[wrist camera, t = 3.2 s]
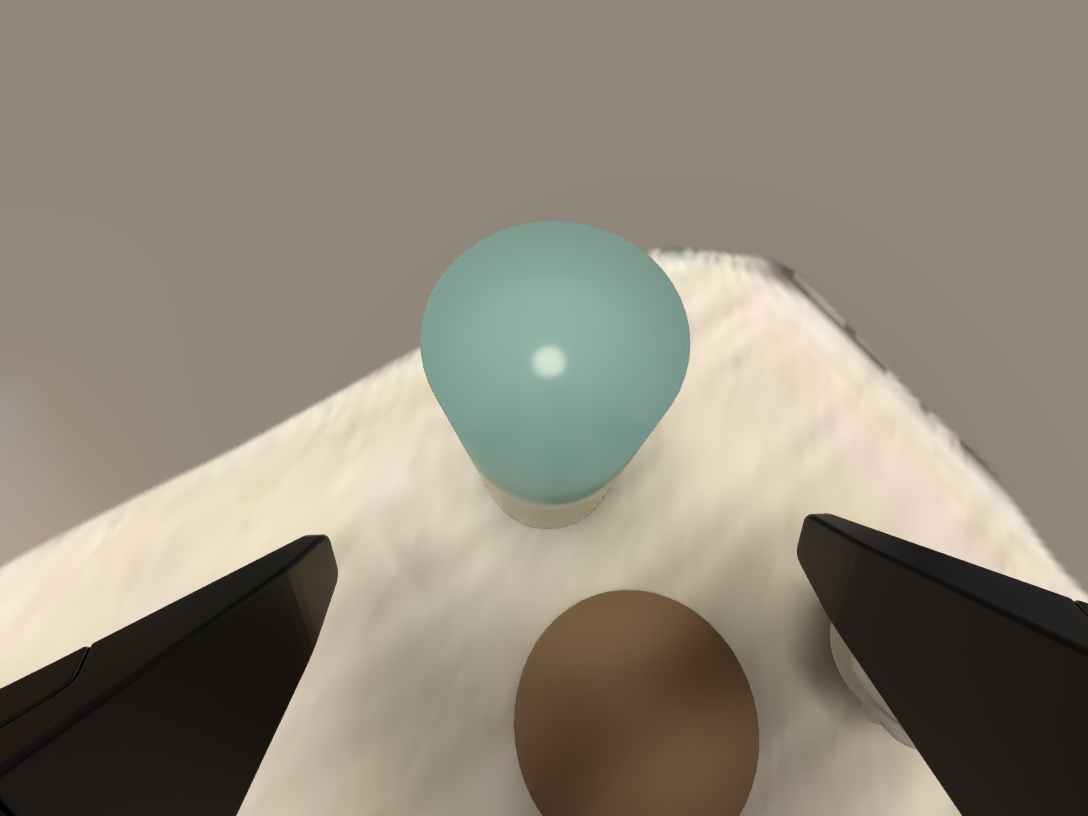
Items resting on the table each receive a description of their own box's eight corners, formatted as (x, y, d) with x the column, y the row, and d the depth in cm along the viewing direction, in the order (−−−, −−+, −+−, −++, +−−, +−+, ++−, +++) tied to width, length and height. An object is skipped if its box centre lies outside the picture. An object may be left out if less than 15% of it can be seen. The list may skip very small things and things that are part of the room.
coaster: (798, 708, 19) (806, 712, 19) (652, 932, 17) (656, 944, 16) (618, 543, 21) (620, 542, 21) (465, 724, 19) (463, 729, 18)
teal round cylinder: (636, 461, 22) (743, 325, 10) (551, 557, 21) (565, 526, 9) (544, 381, 23) (547, 180, 12) (458, 467, 22) (363, 337, 10)
